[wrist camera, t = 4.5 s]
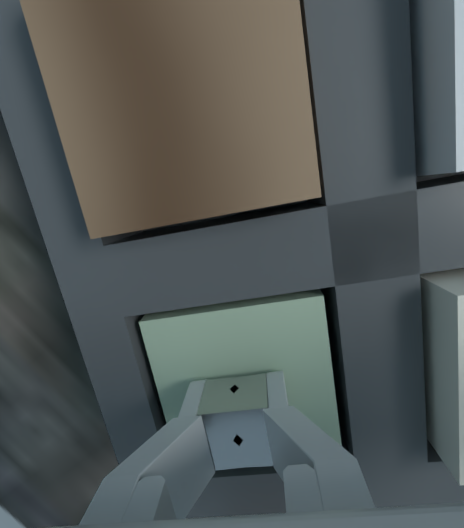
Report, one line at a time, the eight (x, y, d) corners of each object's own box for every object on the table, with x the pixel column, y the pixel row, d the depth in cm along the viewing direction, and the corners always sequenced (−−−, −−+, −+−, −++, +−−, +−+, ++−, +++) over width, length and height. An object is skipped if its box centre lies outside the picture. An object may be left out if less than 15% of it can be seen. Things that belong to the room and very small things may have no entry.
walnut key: (276, -20, 8) (286, -117, 5) (303, 195, 9) (321, 197, 6) (81, 35, 8) (10, -30, 6) (132, 227, 10) (90, 239, 7)
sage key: (308, 272, 11) (323, 295, 8) (325, 402, 12) (342, 455, 10) (163, 294, 11) (138, 322, 9) (193, 415, 13) (178, 468, 10)
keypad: (620, -140, 8) (932, -423, 5) (572, 396, 12) (716, 488, 9) (54, 22, 11) (-62, -76, 7) (169, 433, 15) (137, 521, 11)
